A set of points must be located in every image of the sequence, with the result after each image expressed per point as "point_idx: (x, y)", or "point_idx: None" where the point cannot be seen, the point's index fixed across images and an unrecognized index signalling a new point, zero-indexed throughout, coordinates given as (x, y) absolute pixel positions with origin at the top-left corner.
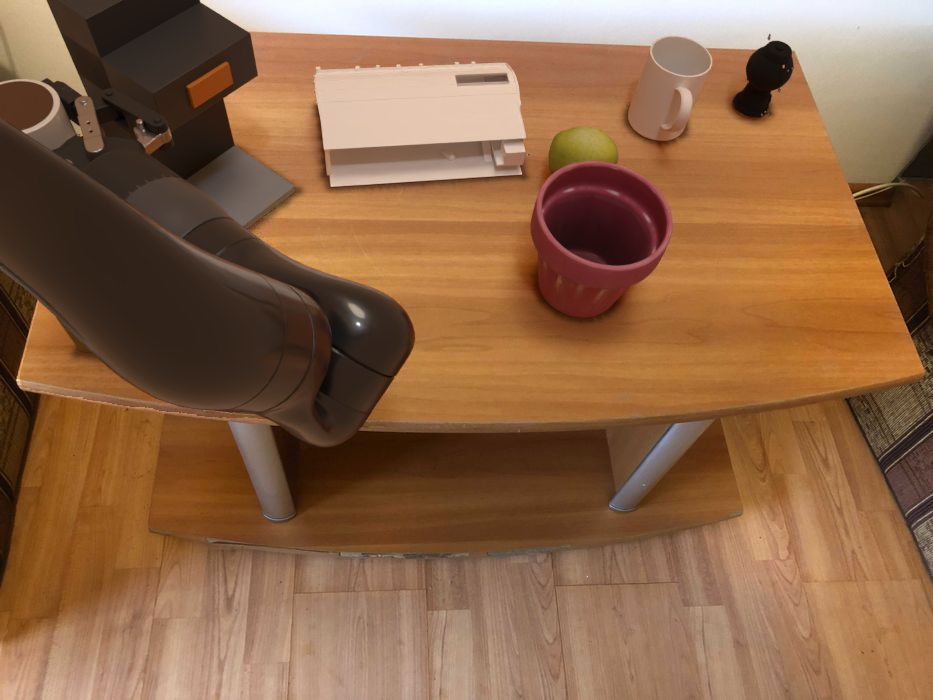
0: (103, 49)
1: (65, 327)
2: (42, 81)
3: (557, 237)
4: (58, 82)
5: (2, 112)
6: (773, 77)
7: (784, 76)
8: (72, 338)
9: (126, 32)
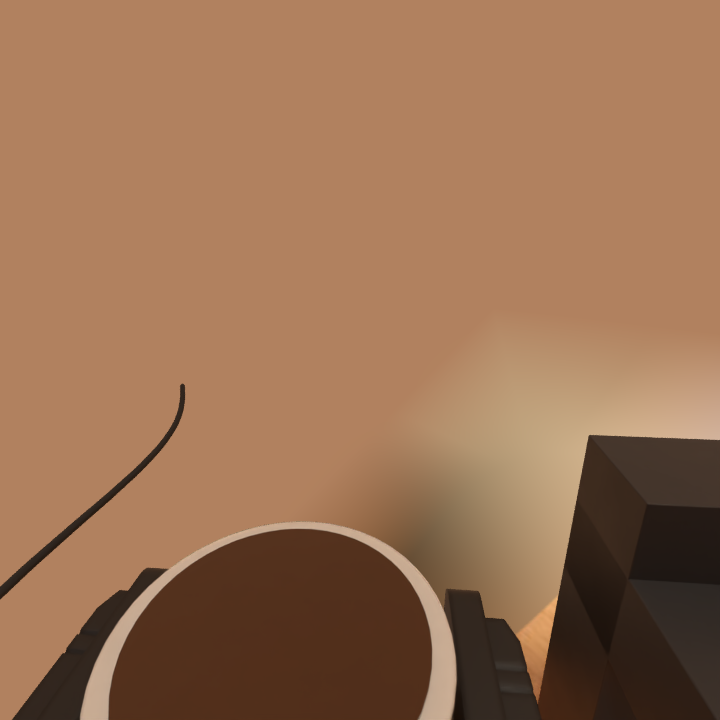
0: (644, 568)
1: None
2: (458, 594)
3: None
4: (503, 629)
5: (224, 630)
6: None
7: None
8: None
9: (712, 565)
